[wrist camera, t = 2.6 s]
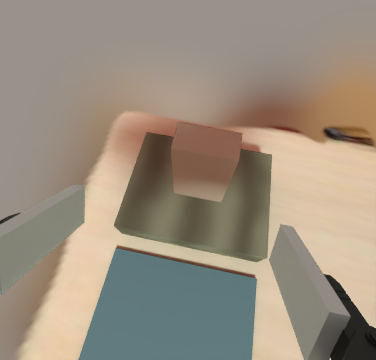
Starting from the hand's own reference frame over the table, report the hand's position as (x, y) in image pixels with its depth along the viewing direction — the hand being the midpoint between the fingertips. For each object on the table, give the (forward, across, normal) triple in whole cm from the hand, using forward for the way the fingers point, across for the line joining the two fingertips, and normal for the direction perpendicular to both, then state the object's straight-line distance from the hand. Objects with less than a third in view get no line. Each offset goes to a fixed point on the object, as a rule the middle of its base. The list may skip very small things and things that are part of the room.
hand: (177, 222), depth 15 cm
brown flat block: (+17, +1, -5) cm, 18 cm away
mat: (+6, +1, -16) cm, 18 cm away
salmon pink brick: (+14, +1, -2) cm, 15 cm away
